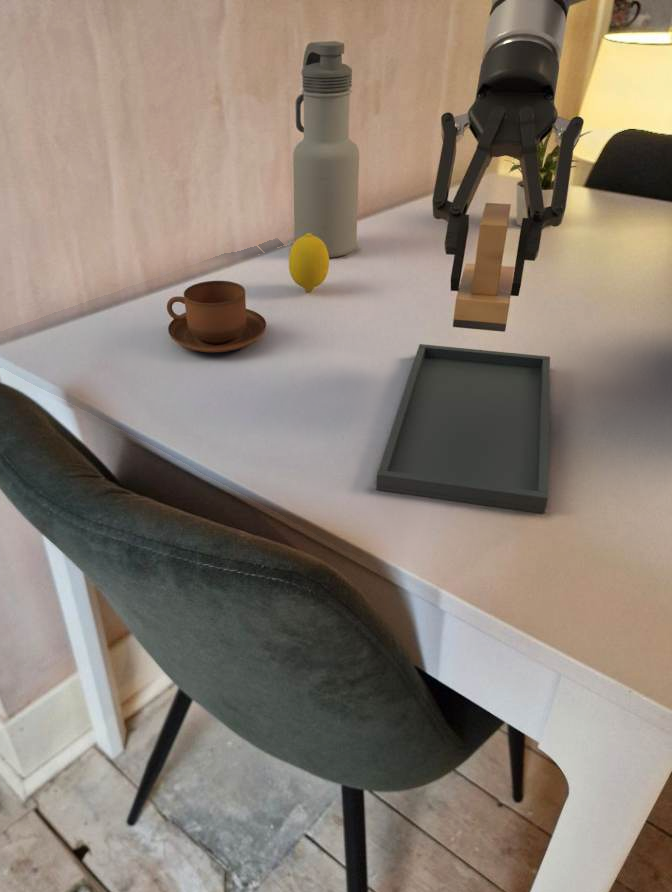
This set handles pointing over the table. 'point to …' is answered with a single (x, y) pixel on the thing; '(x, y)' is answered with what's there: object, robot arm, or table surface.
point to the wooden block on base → (486, 276)
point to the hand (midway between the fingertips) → (484, 286)
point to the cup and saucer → (215, 318)
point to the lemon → (308, 262)
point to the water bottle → (326, 152)
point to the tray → (472, 429)
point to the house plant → (545, 177)
